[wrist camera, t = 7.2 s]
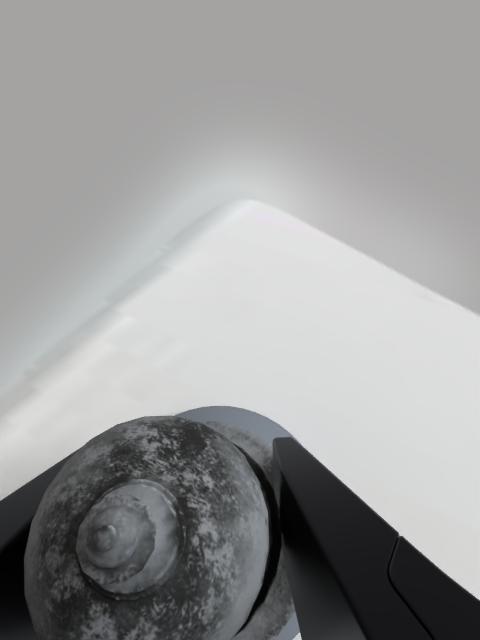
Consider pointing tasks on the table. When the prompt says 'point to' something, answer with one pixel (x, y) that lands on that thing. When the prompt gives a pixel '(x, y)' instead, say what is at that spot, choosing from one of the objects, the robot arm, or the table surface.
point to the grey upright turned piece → (160, 538)
